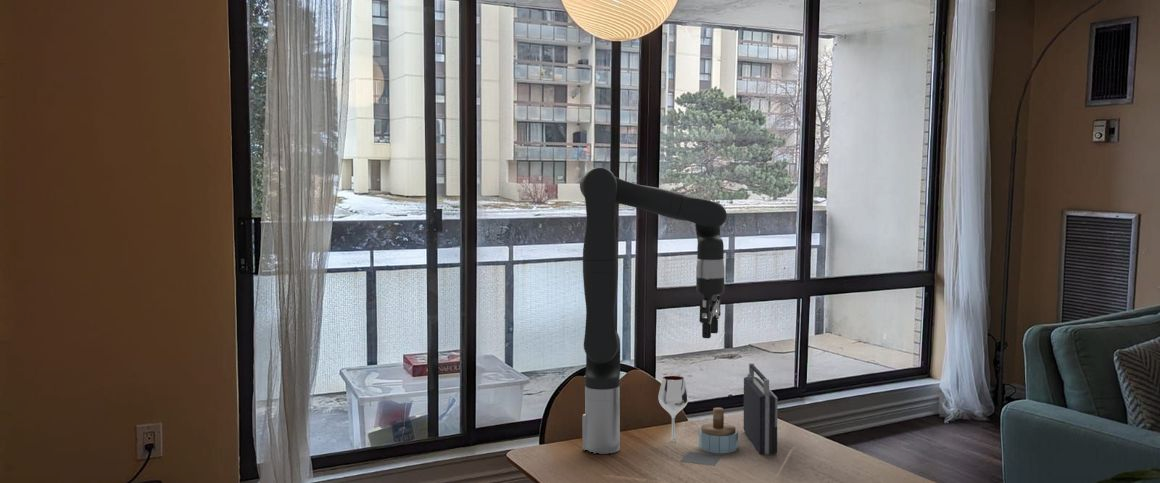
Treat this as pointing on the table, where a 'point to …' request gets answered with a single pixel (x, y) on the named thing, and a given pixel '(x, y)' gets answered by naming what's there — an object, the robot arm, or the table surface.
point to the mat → (701, 458)
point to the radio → (760, 412)
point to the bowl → (718, 442)
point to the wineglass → (673, 397)
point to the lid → (718, 425)
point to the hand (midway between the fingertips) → (710, 335)
